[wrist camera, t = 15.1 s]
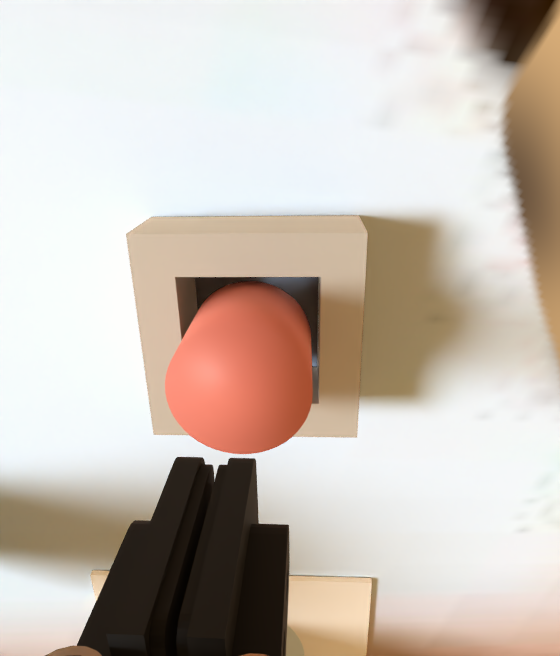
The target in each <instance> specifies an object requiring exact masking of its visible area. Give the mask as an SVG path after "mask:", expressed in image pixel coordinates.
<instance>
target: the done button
mask: <svg viewBox="0 0 560 656" xmlns="http://www.w3.org/2000/svg"><path fill="white" fill-rule="evenodd" d="M165 394H166V399H167V402H168V405H169V408H170V410H171V412H172V414H173V416H174V418H175V419H176V421H177V422H178V424H179V425H180V426H181V427H182V428H183V429H184V430H185V431H186V432H187V433H188V434H189V435H190V436H192V437H193V438H194V439H196V440H197V441H199V442H201V443H202V444H204V445H206V446H208V447H211V448H213V449H216V450H219V451H223V452H228V453H235V454H252V453H259V452H263V451H267V450H270V449H272V448H275V447H277V446H279V445H281V444H283V443H284V442H286V441H287V440H289V439H290V438H291V437H292V436H293V435H295V434H296V433H297V432H298V430H299V429H300V428H301V427H302V425H303V424H304V422H305V420H306V419H307V417H308V414H309V412H310V408H311V404H312V396H313V386H312V346H311V329H310V324H309V321H308V319H307V316H306V314H305V312H304V310H303V309H302V308H301V306H300V305H299V303H298V302H297V301H296V300H295V299H294V298H293V297H292V296H290V295H289V294H288V293H286V292H285V291H283V290H282V289H280V288H278V287H276V286H273V285H270V284H267V283H263V282H258V281H241V282H236V283H232V284H229V285H226V286H224V287H222V288H220V289H218V290H216V291H215V292H213V293H212V294H211V295H210V296H209V297H208V298H207V299H206V300H205V301H204V302H203V303H202V305H201V306H200V308H199V310H198V311H197V313H196V315H195V317H194V319H193V321H192V322H191V324H190V326H189V328H188V330H187V332H186V333H185V335H184V337H183V339H182V341H181V343H180V345H179V346H178V348H177V350H176V352H175V354H174V356H173V357H172V359H171V361H170V364H169V366H168V369H167V373H166V378H165Z"/></svg>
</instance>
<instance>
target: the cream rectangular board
mask: <svg viewBox="0 0 560 656" xmlns="http://www.w3.org/2000/svg"><path fill="white" fill-rule="evenodd" d="M109 572H110V571H99V570H92V572H91V575H90V576H91V580H92V585H93V589H94V593H95V598H96V601H97V599H98V596H99V594H100V592H101V590H102V587H103V585H104V583H105V581H106V578H107V576H108V574H109ZM371 589H372V580H371V578H354V577H317V576H289V595H288V618H287V641H286V656H366V654H367V641H368V628H369V615H370V602H371Z"/></svg>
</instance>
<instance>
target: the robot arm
mask: <svg viewBox="0 0 560 656" xmlns="http://www.w3.org/2000/svg"><path fill="white" fill-rule="evenodd" d="M288 595H289V525H277V524H259V523H258V499H257V475H256V460H255V459H249V458H230V459H229V461H228V465H219V467H218V470H217V474H216V478H215V482H214V470H213V465H205V462H204V459H203V458H201V457H177V458H176V459H175V461H174V464H173V466H172V469H171V471H170V474H169V476H168V479H167V481H166V484H165V486H164V489H163V491H162V494H161V496H160V499H159V502H158V504H157V507H156V509H155V512H154V514H153V517H152V519H151V521H136V520H135V521H134V522H133V523H131V525H130V527H129V529H128V531H127V533H126V535H125V538H124V540H123V542H122V544H121V547H120V549H119V551H118V553H117V556H116V558H115V560H114V563H113V565H112V567H111V569H110V572H109V574H108V576H107V578H106V581H105V583H104V585H103V587H102V590H101V592H100V594H99V596H98V599H97V601H96V603H95V605H94V608H93V610H92V612H91V615H90V617H89V619H88V621H87V624H86V626H85V628H84V630H83V633H82V635H81V637H80V639H79V642H78V644H77V646H69V647H65V648H61V649H57V650H55V651H53V652H51V653H49V654H48V655H46V656H286V641H287V618H288Z"/></svg>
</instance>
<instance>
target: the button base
mask: <svg viewBox="0 0 560 656" xmlns="http://www.w3.org/2000/svg"><path fill="white" fill-rule="evenodd" d="M126 237H127V244H128V251H129V259H130V266H131V273H132V280H133V288H134V295H135V302H136V309H137V317H138V324H139V331H140V338H141V346H142V353H143V360H144V367H145V375H146V382H147V389H148V396H149V404H150V411H151V418H152V425H153V433H154V435H189V434H188V433H187V432H186V431H185V430H184V429H183V428H182V427H181V426H180V425H179V424H178V422H177V421H176V419H175V418H174V416H173V414H172V412H171V410H170V408H169V405H168V402H167V399H166V394H165V378H166V373H167V369H168V366H169V364H170V361H171V359H172V357H173V356H174V354H175V352H176V350H177V348H178V346H179V345H180V343H181V341H182V339H183V337H184V335H185V333H186V332H187V330H188V328H189V326H190V324H191V322H192V321H193V319H194V317H195V315H196V313H197V311H198V307H197V295H196V284H195V277H318V345H317V367H312V386H313V396H312V404H311V408H310V412H309V414H308V417H307V419H306V420H305V422H304V424H303V425H302V427H301V428H300V429H299V430H298V432H297V433H296V434H295V435H293V436H292V437H357V429H358V410H359V391H360V372H361V353H362V334H363V315H364V296H365V277H366V258H367V238H368V232H367V230H366V228H365V226H364V224H363V222H362V220H361V218H360V217H359V215H333V216H208V217H151V218H149V219H148V220H146V221H145V222H143V223H142V224H140V225H139V226H137V227H136V228H134V229H133V230H131V231H130V232H128V233H127V234H126Z"/></svg>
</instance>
